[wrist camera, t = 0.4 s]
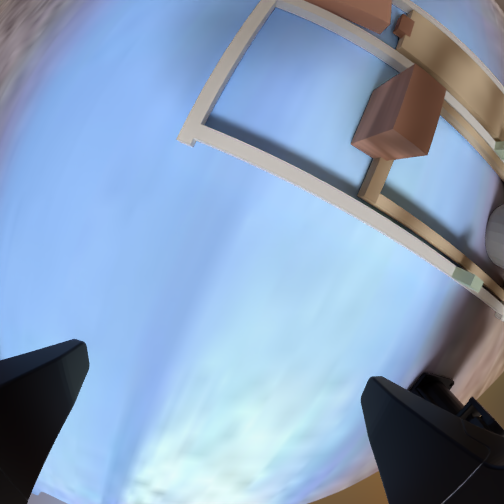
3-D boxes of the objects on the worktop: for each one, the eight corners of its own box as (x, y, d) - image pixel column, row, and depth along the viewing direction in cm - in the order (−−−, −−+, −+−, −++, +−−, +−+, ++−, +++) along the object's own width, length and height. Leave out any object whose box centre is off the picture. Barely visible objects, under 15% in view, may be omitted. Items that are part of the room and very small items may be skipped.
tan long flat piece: (540, 157, 18) (547, 158, 17) (533, 198, 19) (541, 199, 18) (400, 9, 15) (406, 3, 13) (386, 46, 16) (393, 40, 15)
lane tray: (545, 155, 18) (564, 155, 14) (497, 317, 22) (517, 330, 19) (305, -47, 13) (313, -71, 10) (180, 142, 17) (166, 131, 14)
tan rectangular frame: (531, 214, 19) (567, 221, 14) (501, 300, 21) (536, 319, 16) (383, 63, 16) (423, 33, 10) (333, 182, 18) (371, 180, 12)
